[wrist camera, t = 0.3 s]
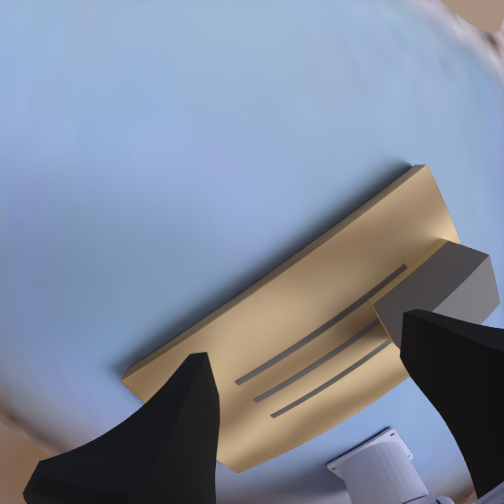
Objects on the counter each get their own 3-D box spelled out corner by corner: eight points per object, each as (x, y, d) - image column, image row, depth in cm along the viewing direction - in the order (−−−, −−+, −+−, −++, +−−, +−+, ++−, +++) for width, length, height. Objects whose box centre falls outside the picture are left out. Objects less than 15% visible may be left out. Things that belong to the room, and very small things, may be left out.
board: (470, 306, 21) (480, 312, 20) (236, 461, 24) (237, 473, 22) (415, 164, 18) (427, 164, 17) (126, 369, 20) (120, 381, 19)
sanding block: (457, 280, 19) (500, 303, 14) (389, 338, 19) (424, 376, 15) (441, 238, 18) (489, 254, 13) (367, 299, 19) (404, 334, 14)
